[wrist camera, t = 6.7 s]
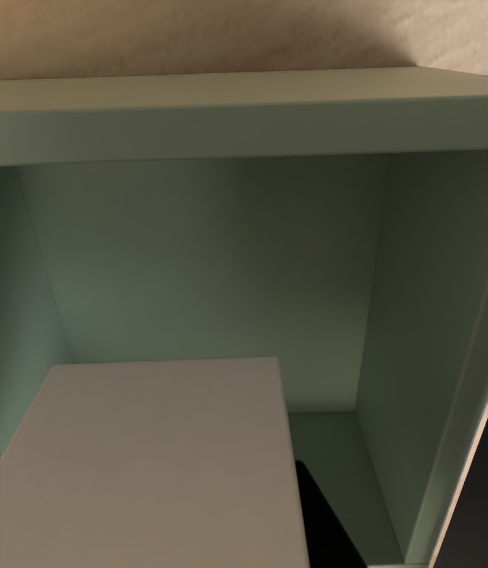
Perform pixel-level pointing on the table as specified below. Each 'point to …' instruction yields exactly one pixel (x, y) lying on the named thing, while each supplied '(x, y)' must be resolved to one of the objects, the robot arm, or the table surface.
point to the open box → (267, 260)
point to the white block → (154, 469)
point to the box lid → (469, 517)
